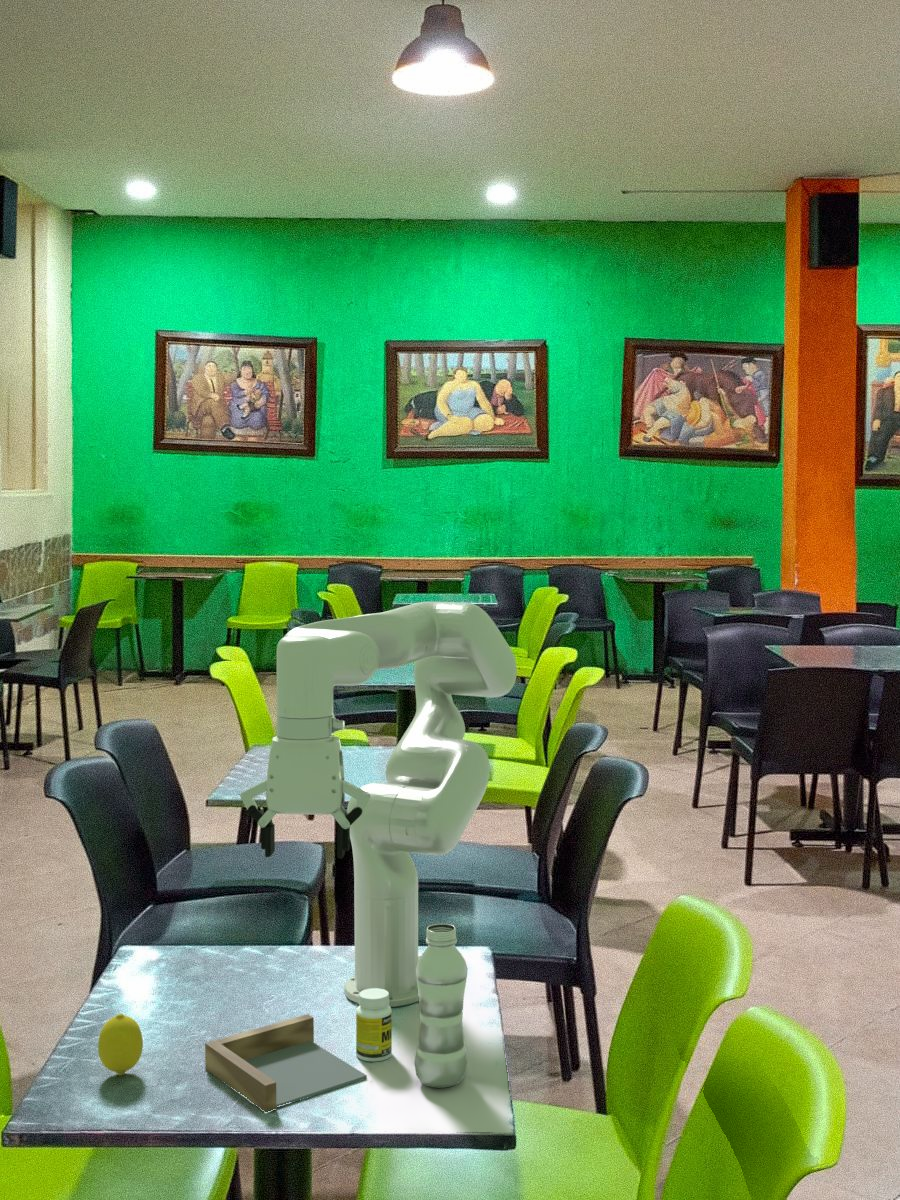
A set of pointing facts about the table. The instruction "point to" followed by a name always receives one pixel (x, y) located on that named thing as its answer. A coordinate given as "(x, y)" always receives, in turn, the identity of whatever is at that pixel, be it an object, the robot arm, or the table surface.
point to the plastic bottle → (441, 1009)
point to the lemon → (120, 1044)
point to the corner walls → (232, 1052)
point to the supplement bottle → (373, 1025)
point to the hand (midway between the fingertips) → (305, 855)
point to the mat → (305, 1071)
